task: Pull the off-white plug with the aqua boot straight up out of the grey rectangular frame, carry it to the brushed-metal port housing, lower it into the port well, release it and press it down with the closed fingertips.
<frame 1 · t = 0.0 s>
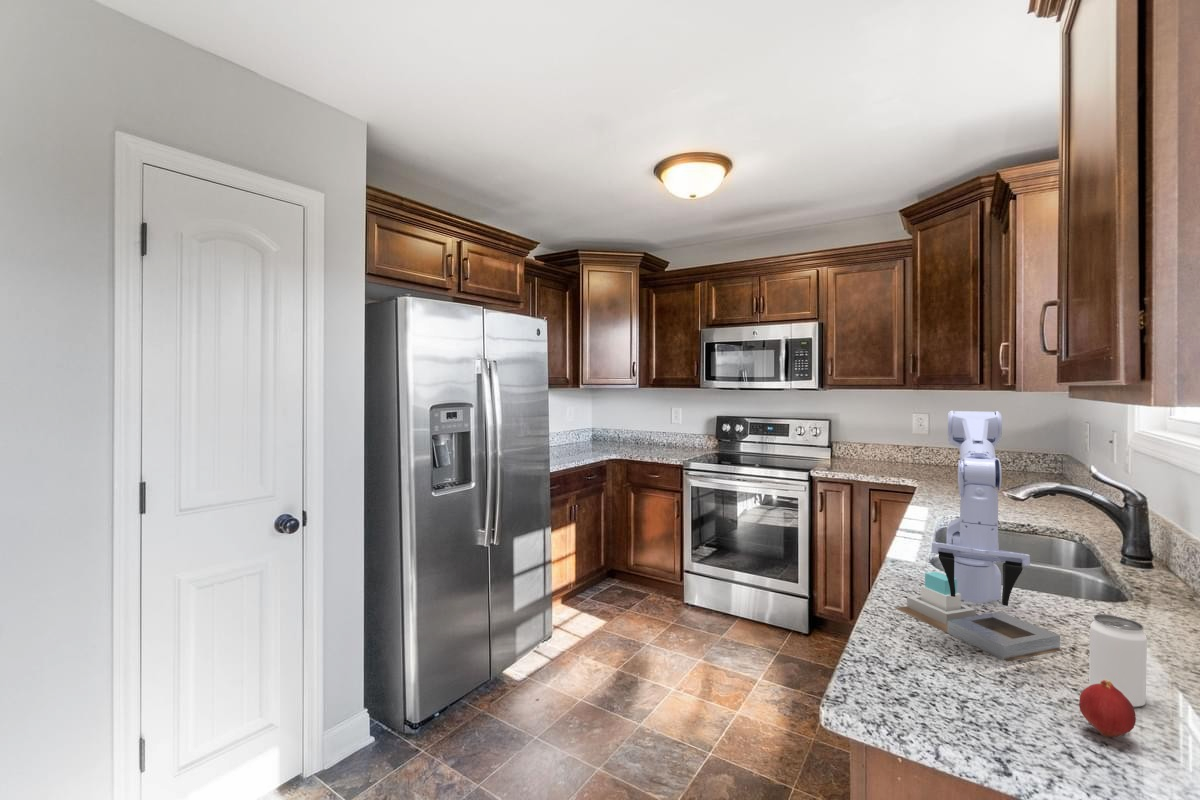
hand: (978, 600, 97), 11 cm above the worktop, tool pointing down, fingers open, 7 cm apart
onion: (1106, 737, 75), on the worktop
can: (1116, 697, 85), on the worktop
plug: (940, 613, 114), point 1 cm above the worktop, touching panel board
port: (1001, 644, 102), resting on panel board
grey rectangular frame: (940, 617, 114), resting on panel board
panel board: (971, 631, 108), on the worktop
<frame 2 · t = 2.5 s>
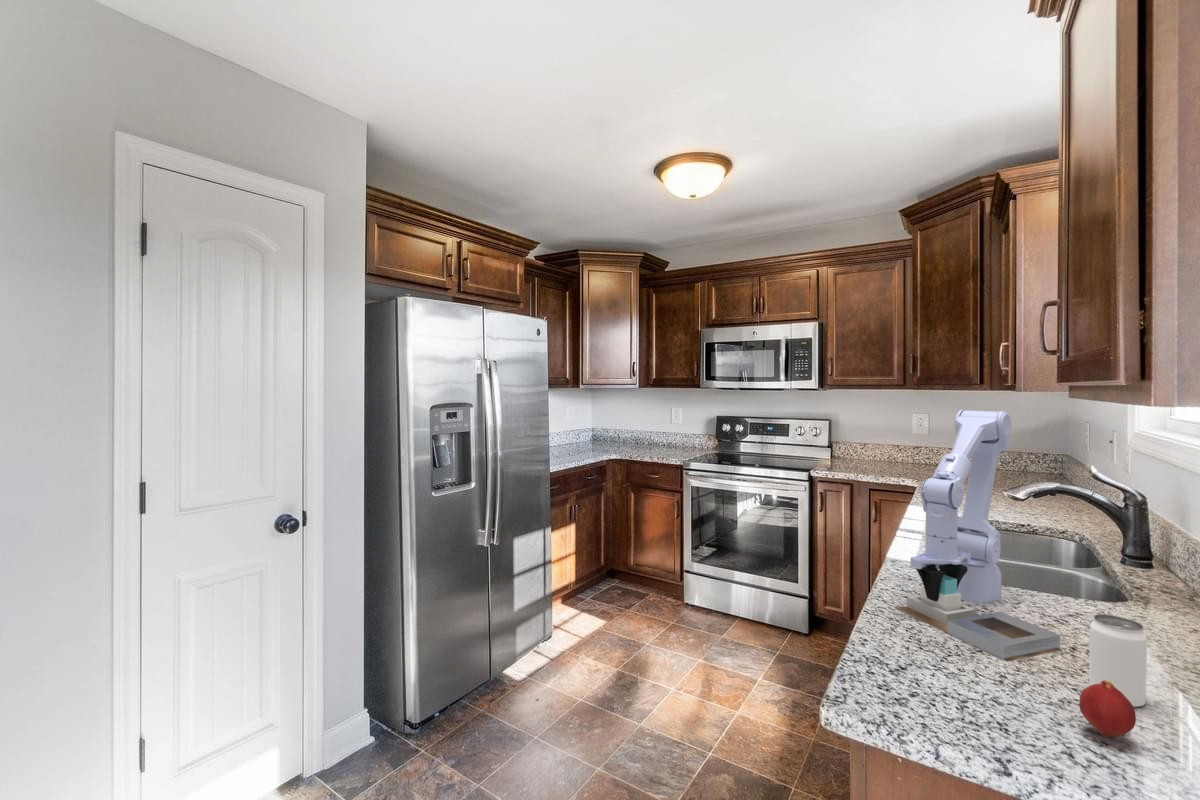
hand: (940, 598, 114), 4 cm above the worktop, tool pointing down, fingers closed on plug, 4 cm apart
plug: (940, 613, 114), point 1 cm above the worktop, touching gripper, panel board
everything else where it was.
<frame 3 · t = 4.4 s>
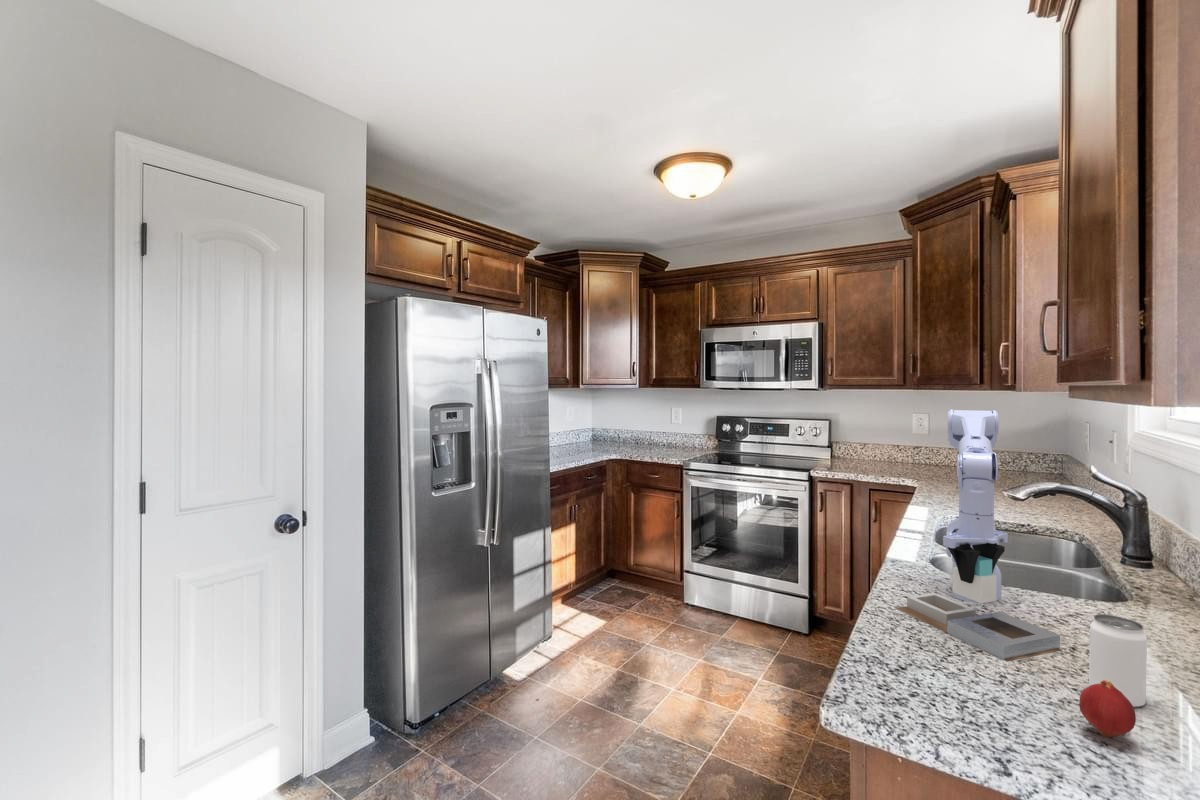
hand: (975, 580, 107), 10 cm above the worktop, tool pointing down, fingers closed on plug, 4 cm apart
plug: (973, 596, 107), point 7 cm above the worktop, touching gripper
everything else where it was.
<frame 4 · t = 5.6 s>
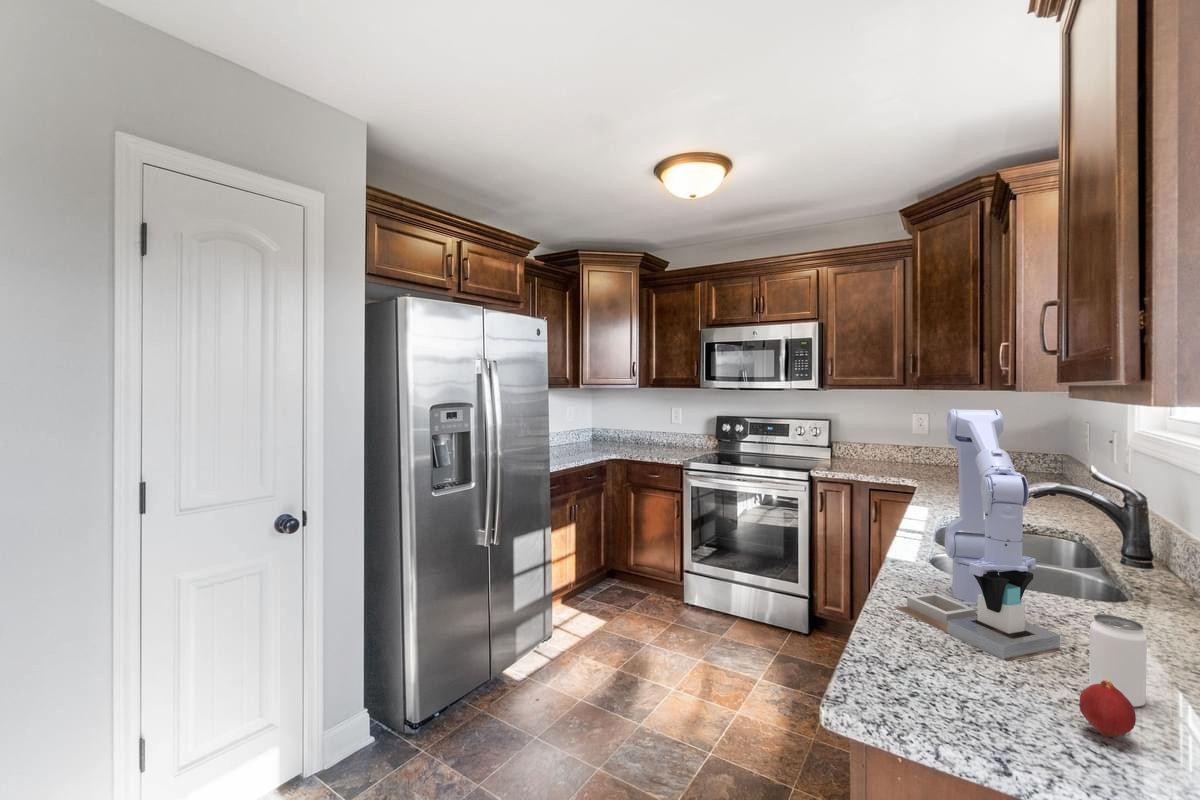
hand: (1002, 609, 102), 7 cm above the worktop, tool pointing down, fingers closed on plug, 4 cm apart
plug: (1000, 625, 102), point 4 cm above the worktop, touching gripper
everything else where it was.
when the fingers open (5 cm above the worktop, at t = 6.5 s): plug stays where it is, resting on panel board.
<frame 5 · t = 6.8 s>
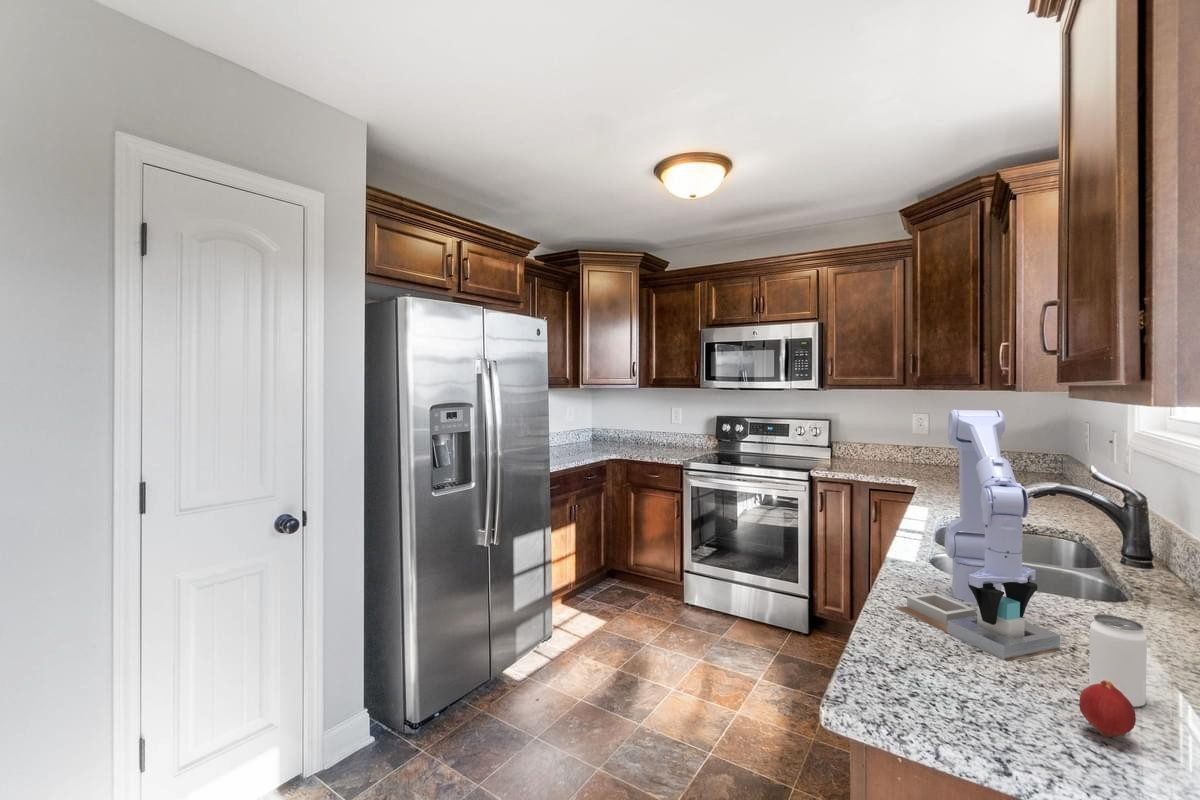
hand: (1002, 620, 102), 5 cm above the worktop, tool pointing down, fingers open, 6 cm apart
plug: (1000, 639, 102), point 1 cm above the worktop, touching panel board
everything else where it was.
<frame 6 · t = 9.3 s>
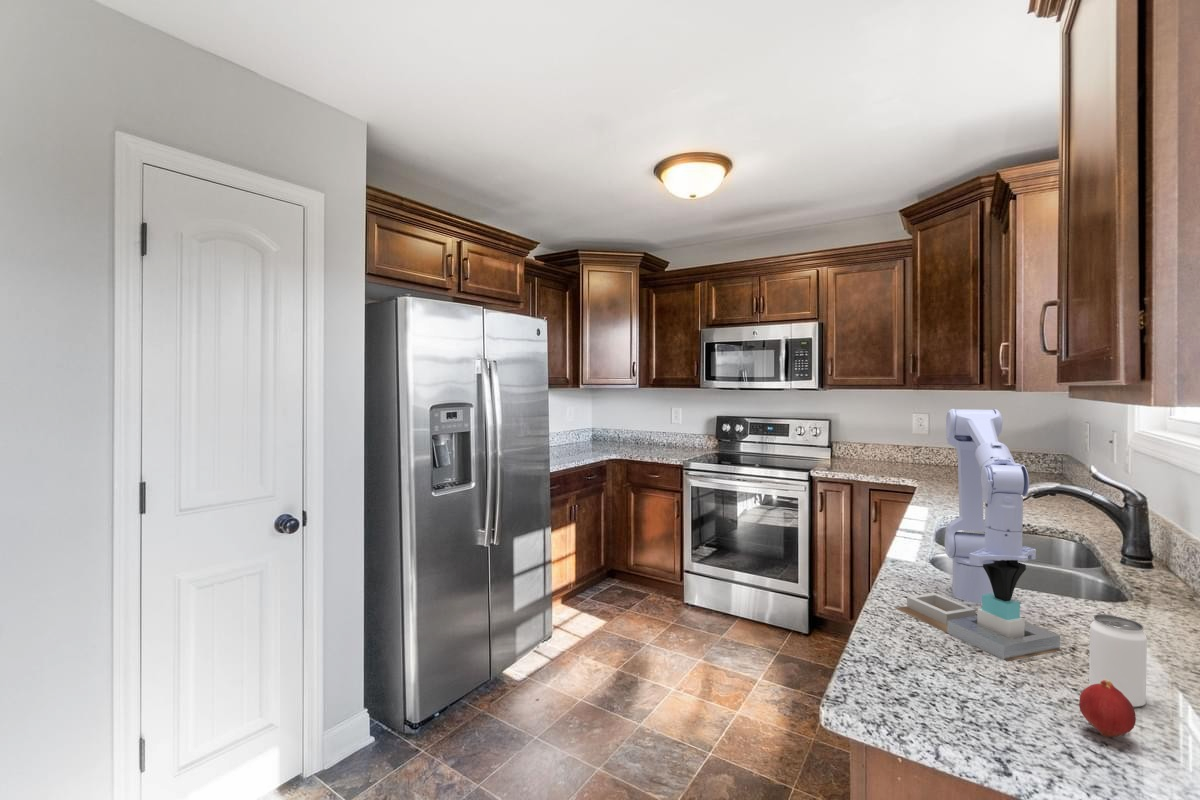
hand: (1002, 599, 102), 9 cm above the worktop, tool pointing down, fingers closed, pressing on plug
plug: (1000, 639, 102), point 1 cm above the worktop, touching gripper, panel board
everything else where it was.
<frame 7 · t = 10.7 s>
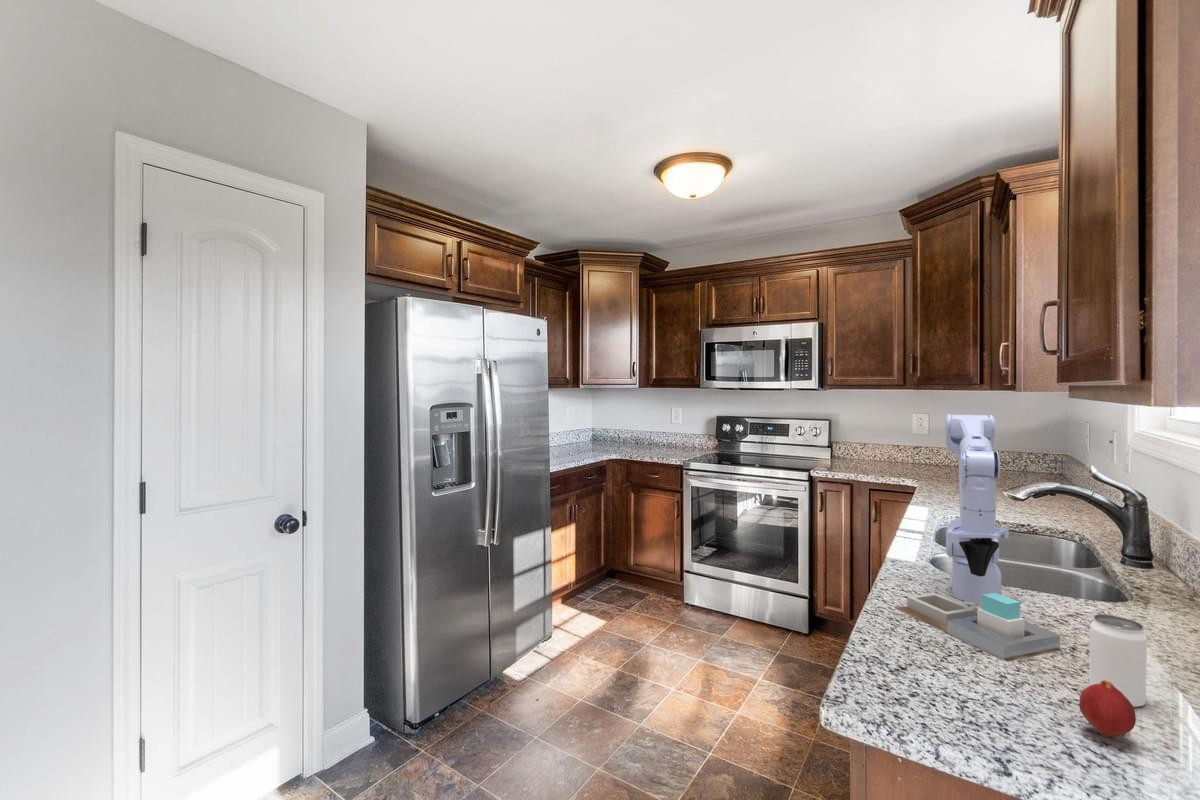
hand: (977, 574, 110), 10 cm above the worktop, tool pointing down, fingers closed
plug: (1000, 639, 102), point 1 cm above the worktop, touching panel board
everything else where it was.
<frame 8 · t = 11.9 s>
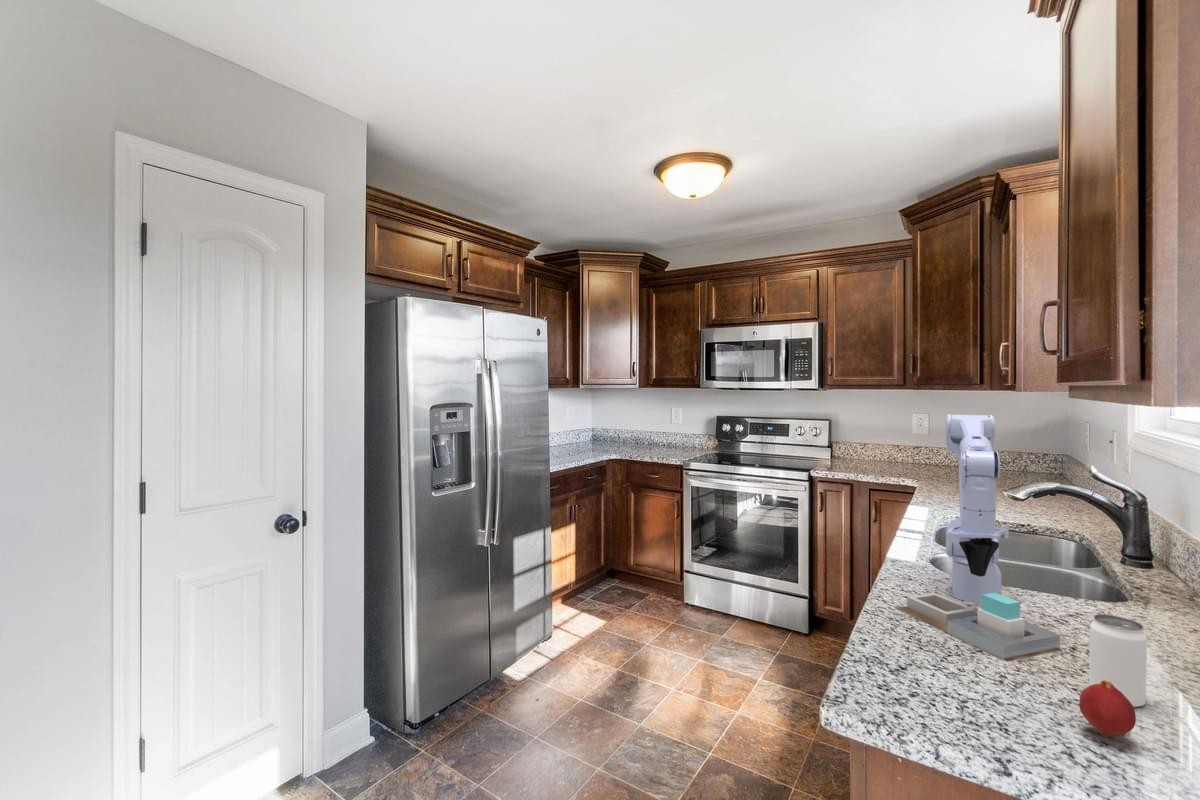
hand: (977, 574, 110), 10 cm above the worktop, tool pointing down, fingers closed
nothing on the worktop moved.
at the end: plug 0.3 cm off-centre on the port, point 0.8 cm above the port's base; plug tilted 0°; the gripper is holding nothing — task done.
